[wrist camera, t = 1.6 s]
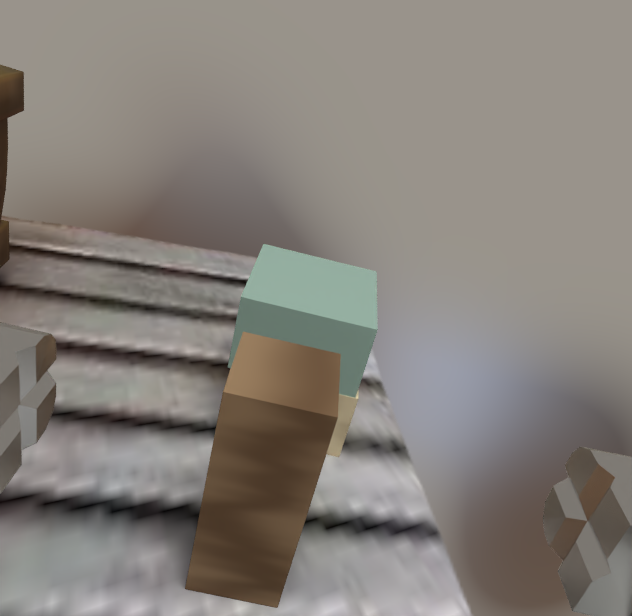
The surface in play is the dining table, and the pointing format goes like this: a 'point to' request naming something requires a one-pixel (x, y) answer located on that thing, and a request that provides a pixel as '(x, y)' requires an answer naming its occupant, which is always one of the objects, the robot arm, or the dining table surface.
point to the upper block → (312, 308)
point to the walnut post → (263, 467)
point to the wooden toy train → (5, 101)
